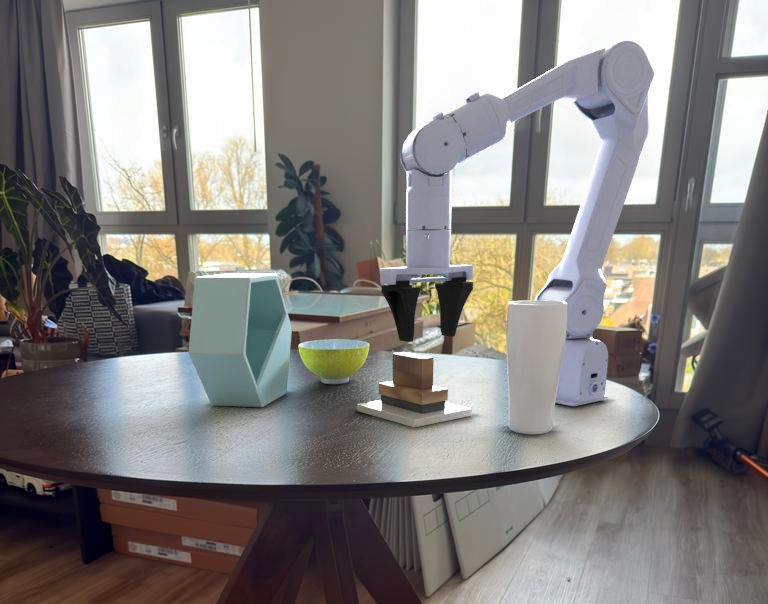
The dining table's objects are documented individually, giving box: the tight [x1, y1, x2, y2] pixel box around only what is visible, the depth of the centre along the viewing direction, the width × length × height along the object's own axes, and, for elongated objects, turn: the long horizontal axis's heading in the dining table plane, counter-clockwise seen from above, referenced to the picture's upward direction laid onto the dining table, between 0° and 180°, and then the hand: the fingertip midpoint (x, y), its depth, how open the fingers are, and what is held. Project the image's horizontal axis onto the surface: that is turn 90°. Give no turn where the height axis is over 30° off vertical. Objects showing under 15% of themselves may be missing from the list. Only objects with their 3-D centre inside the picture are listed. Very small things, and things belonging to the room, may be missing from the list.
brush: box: [378, 351, 449, 413], centre depth 95 cm, size 9×4×7 cm, turn 38°
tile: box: [356, 399, 473, 428], centre depth 97 cm, size 12×10×1 cm
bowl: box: [298, 338, 370, 385], centre depth 118 cm, size 11×12×6 cm
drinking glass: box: [505, 299, 568, 435], centre depth 85 cm, size 7×7×15 cm
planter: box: [188, 273, 293, 408], centre depth 102 cm, size 17×8×21 cm
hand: (427, 338), depth 97 cm, fingers open, 7 cm apart
